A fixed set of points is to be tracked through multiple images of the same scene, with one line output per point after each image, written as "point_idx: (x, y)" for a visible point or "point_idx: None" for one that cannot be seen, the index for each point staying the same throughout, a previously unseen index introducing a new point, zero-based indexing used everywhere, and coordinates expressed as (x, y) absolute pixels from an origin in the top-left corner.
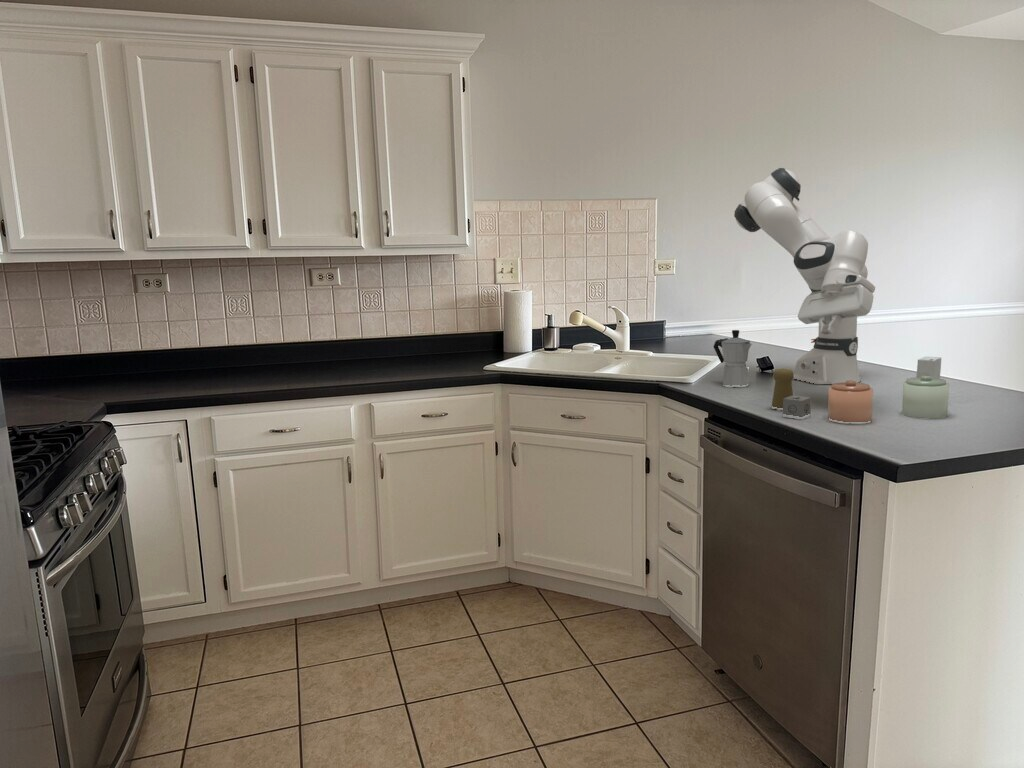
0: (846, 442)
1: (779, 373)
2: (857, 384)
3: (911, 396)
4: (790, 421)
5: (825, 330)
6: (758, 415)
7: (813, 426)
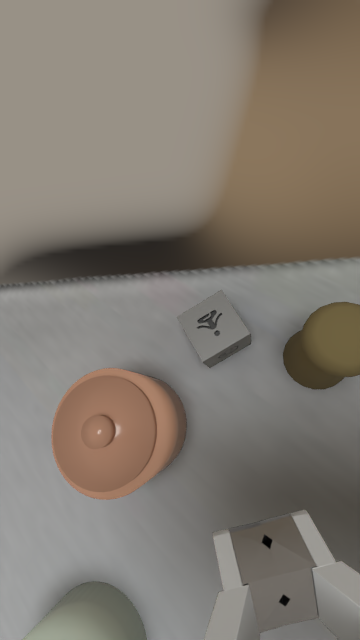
0: (21, 300)
1: (321, 307)
2: (101, 460)
3: (60, 618)
4: (185, 299)
5: (252, 524)
6: (267, 268)
7: (128, 316)
